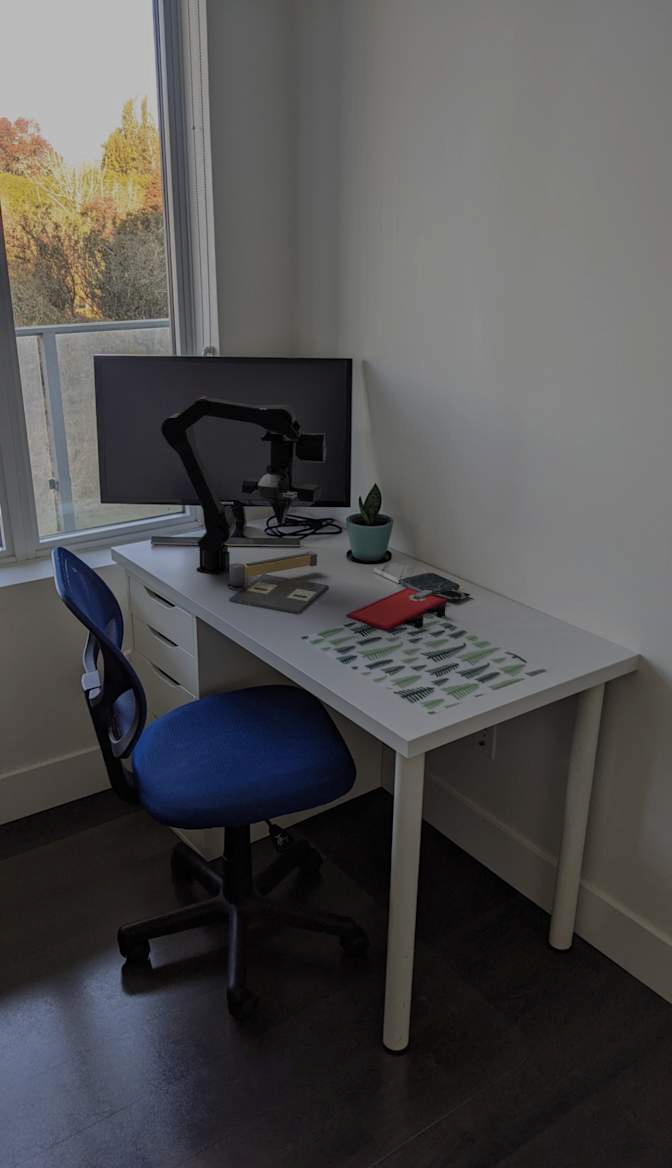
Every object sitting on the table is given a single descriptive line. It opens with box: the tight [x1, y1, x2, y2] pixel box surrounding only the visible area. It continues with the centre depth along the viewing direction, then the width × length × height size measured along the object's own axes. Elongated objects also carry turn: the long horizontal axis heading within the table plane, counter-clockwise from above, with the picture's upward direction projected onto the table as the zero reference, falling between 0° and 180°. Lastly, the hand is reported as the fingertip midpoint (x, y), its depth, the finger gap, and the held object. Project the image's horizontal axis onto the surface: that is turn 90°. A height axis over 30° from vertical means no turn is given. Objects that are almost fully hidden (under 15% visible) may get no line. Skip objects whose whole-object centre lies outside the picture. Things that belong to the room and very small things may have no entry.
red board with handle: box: [345, 587, 472, 633], centre depth 206 cm, size 30×3×15 cm
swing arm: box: [229, 550, 318, 586], centre depth 219 cm, size 23×4×4 cm, turn 124°
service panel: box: [226, 573, 329, 615], centre depth 212 cm, size 22×18×1 cm
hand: (280, 523), depth 219 cm, fingers closed
